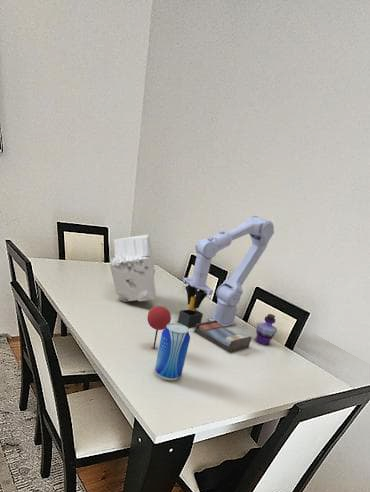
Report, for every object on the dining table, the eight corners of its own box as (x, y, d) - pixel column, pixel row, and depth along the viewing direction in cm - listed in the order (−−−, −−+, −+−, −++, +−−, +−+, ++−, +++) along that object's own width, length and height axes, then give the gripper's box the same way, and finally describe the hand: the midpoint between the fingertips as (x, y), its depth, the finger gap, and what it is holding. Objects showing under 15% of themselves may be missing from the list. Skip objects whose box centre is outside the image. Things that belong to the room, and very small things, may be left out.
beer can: (153, 366, 122) (162, 319, 113) (179, 370, 123) (190, 324, 115) (154, 380, 115) (164, 331, 106) (181, 383, 116) (193, 335, 108)
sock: (192, 307, 158) (194, 295, 155) (197, 310, 156) (200, 298, 153) (186, 308, 155) (189, 296, 153) (192, 311, 154) (195, 299, 151)
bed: (213, 327, 161) (216, 317, 158) (248, 347, 151) (252, 337, 149) (194, 331, 153) (196, 321, 150) (229, 352, 143) (233, 342, 141)
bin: (190, 319, 163) (193, 308, 160) (200, 325, 160) (203, 313, 158) (177, 321, 158) (180, 310, 155) (187, 327, 155) (189, 315, 152)
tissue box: (156, 305, 160) (145, 242, 147) (119, 310, 162) (104, 248, 148) (159, 291, 178) (149, 234, 164) (125, 296, 179) (112, 239, 165)
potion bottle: (255, 335, 163) (264, 309, 157) (274, 342, 161) (284, 316, 155) (249, 341, 156) (258, 314, 150) (269, 349, 154) (279, 321, 148)
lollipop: (167, 347, 135) (175, 307, 127) (159, 355, 129) (167, 313, 121) (147, 341, 136) (154, 300, 128) (139, 348, 130) (145, 306, 122)
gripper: (180, 266, 149) (174, 300, 156) (207, 279, 141) (199, 314, 149) (193, 266, 154) (186, 298, 161) (219, 278, 146) (210, 312, 153)
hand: (193, 306), depth 155 cm, fingers closed on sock, 3 cm apart
